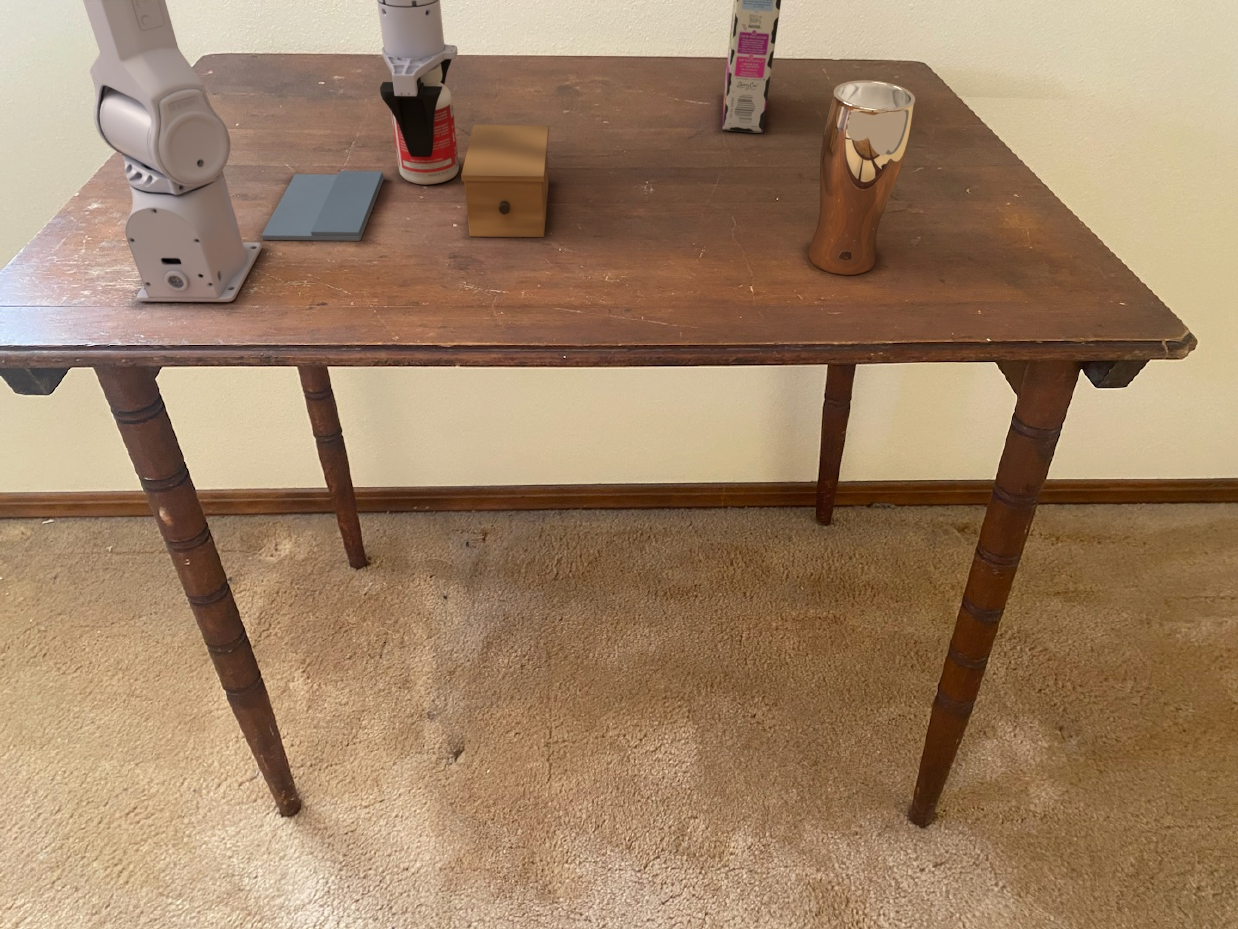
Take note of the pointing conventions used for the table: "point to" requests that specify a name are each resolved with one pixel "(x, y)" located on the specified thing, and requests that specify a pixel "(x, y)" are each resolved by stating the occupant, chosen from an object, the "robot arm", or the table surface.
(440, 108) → the pill bottle
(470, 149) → the birch box
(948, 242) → the table surface
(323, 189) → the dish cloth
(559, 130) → the table surface
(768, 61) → the candy bar box
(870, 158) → the beer glass
